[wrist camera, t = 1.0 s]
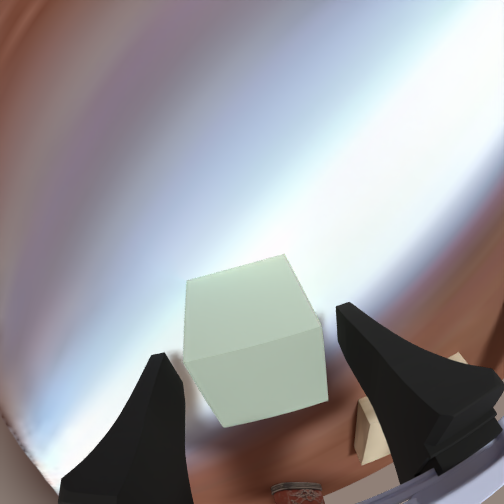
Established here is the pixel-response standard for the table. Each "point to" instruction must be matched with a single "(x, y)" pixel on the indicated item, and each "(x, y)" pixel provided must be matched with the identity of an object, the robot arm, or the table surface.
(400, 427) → the robot arm
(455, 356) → the maple block
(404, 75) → the table surface
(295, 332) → the sage block
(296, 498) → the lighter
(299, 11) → the table surface
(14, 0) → the table surface
